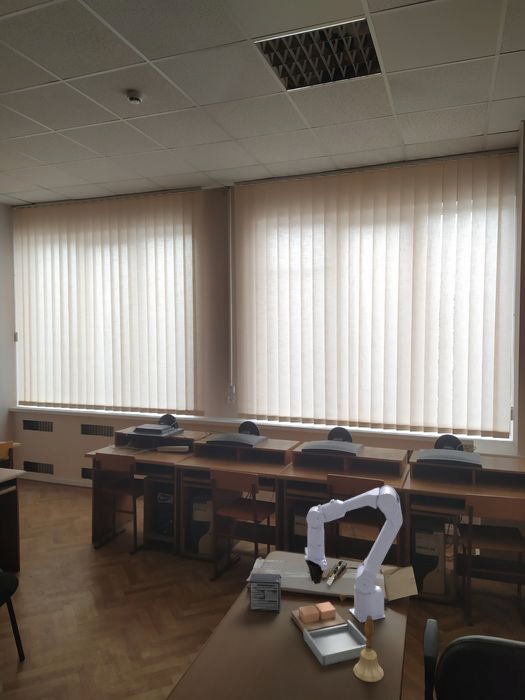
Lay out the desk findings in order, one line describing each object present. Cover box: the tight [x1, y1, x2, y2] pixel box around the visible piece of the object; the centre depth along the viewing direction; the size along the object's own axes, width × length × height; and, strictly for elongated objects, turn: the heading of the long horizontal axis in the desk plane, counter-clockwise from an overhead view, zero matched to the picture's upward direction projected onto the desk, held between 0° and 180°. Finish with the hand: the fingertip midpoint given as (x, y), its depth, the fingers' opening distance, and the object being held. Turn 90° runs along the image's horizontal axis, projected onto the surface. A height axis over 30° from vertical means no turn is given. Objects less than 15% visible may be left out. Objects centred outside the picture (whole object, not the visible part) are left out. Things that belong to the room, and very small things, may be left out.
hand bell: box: [353, 616, 384, 683], centre depth 142 cm, size 8×8×16 cm
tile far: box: [298, 604, 319, 623], centre depth 166 cm, size 5×5×2 cm
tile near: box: [314, 601, 337, 619], centre depth 168 cm, size 5×5×2 cm
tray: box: [302, 619, 366, 667], centre depth 154 cm, size 16×14×3 cm
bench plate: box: [290, 609, 347, 634], centre depth 167 cm, size 14×12×2 cm
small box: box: [249, 573, 282, 613], centre depth 177 cm, size 11×6×10 cm, turn 84°
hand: (315, 581), depth 175 cm, fingers closed
